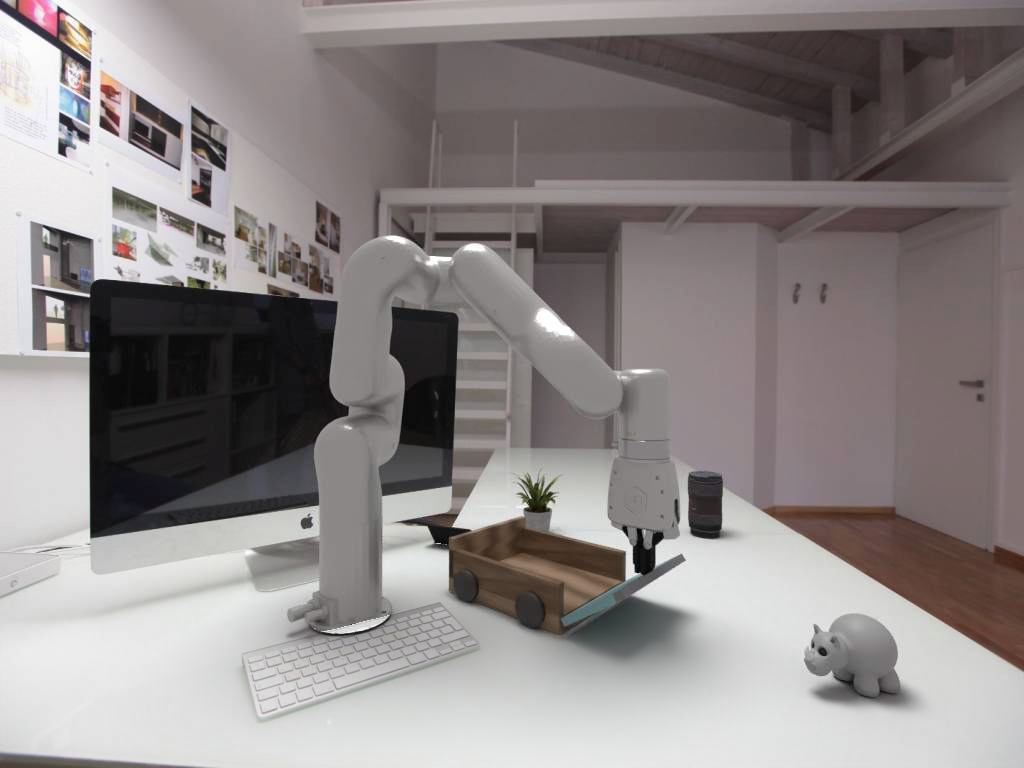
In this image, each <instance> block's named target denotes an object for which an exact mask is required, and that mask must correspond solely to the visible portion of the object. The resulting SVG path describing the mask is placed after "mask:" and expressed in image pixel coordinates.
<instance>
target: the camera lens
mask: <svg viewBox="0 0 1024 768" xmlns="http://www.w3.org/2000/svg"><path fill="white" fill-rule="evenodd" d="M723 493H724V479H723V476H722V474H721V473H719V472H715V471H707V470H695V471H690V472H688V476H687V494H688V504H687V505H688V509H687V519H688V527H689V529H690V531H689V532H690V534H691V535H693V536H696V537H698V538H704V539H716V538H719V537H720V535H721V530H722V527H723V496H724V494H723Z"/></svg>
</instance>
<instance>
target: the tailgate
mask: <svg viewBox="0 0 1024 768" xmlns="http://www.w3.org/2000/svg"><path fill="white" fill-rule="evenodd" d="M685 562H686V558H685V556H684V554H683V553H680V554H678V555H676V556H674V557H672V558H669V559H667V560H665V561H664V562H662V563H659V564H657V565H655V568H654V569H653V570H652V571H651V572H649V573H647V574H646V575H642V574H641V573H639V574H638V573H637V575H635V576H632V577H630V578H628V579H626V581H625V582H623V583H621V584H619V585H618V586H616V587H614V588H613V589H611V590H609V591H607V592H606V593H604V594H602V595H601V596H599V597H597V598H595V599H594V600H592V601H590V602H588V603H587V604H585V605H583V606H582V607H580V608H578V609H576V610H575V611H573V612H571V613H570V614H568V615H566V616H564V617H563V618H561V621H562V623H563V625H564V627H565V626H567V625H570V624H572V623H574V622H576V621H578V620H581V619H583V618H585V617H587V616H589V615H590V616H592V615H593V614H595V613H597V612H600V611H602V610H604V609H606V608H609V607H611V606H613V605H615V604H617V603H620V602H622V601H624V600H626V599H628V598H629V597H631V596H632V595H634V594H635V593H637V592H639V591H640V590H642V589H643V588H645V587H646V586H648V585H650V584H651V583H653V582H654V581H655V580H656V581H657V579H659V578H661V577H662V576H664V575H665V574H667V573H668V572H670V571H672V570H673V569H675V568H677V567H678V566H680V565H682V564H683V563H685ZM591 614H592V615H591ZM590 616H589V617H590ZM587 618H588V617H587Z"/></svg>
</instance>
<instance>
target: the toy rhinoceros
mask: <svg viewBox="0 0 1024 768" xmlns="http://www.w3.org/2000/svg"><path fill="white" fill-rule="evenodd" d="M812 625H813V630H814V631H813V632H814V633H813V637H812V638H811V641H810V647H809V645H806V647H805V649H804V658H803V661H804V664H805V667H806V669H807V670H808V672H809V673H810V674H813V675H815V676H817V677H825V676H828V675H829V674H830V673H831V672H832V675H833V676H834V677H835V678H836V679H838V680H842V681H845V682H853V687H854V689H855V691H856V692H857V693H858V694H859V695H862V696H863V697H868V698H869V697H870V698H876V697H878V696H879V695H880V691H882V692H885V693H889V694H897V693H899V691H900V690H901V682H900V681H901V680H900V677H899V675H898V673H897V671H896V669H895V667H896V664H897V662H898V658H899V650H898V645H897V643H896V640H895V638H894V636H893V634H892V633H891V632H890V630H889V629H888V628H887V627H886V626H885V625H884V624H883V623H881V622H880V621H879V620H878V619H876V618H873V617H872V616H869V615H866V614H863V613H857V612H856V613H855V612H853V613H845V614H843V615H840V616H839V617H837V618H836V619H835V620H834V621H833V622H832V623H831V624H830V627H829V628H828V631H823V630H822V629H821V628H820V626H819V625H818V624H816V623H813V624H812Z"/></svg>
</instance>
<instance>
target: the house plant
mask: <svg viewBox="0 0 1024 768" xmlns="http://www.w3.org/2000/svg"><path fill="white" fill-rule="evenodd" d="M542 469H543V467H541V468H540V470H539V472H538V475H537V481H536V482H534V485H533V483H532V477H531V476H530V474H529V473H528V472H527V471H525V473H526V474H525V473H524V472H522V475H523V477H524V478H525V479H522V478H521V477H520V476H519V475H517V474H515V473H513V472H510V474H512V475H514V476H517V478H516V477H515V479H518V480H520V481H521V482H522V484H523V485H522V484H521V483H520V482H517V481H516V482H513V481H512V483H516V484H518V485H519V486H520V487H521V488H522V490H523V491H524V493H523V492H521V491H520V492H517V493H516V494H515V496H517V498H521V499H522V500H521V501H522V502H521V505H523V504H524V503H526V504H527V505H528V506H527V507H524V508H523V510H522V511H523V516H524V517H526V527H529V528H533V529H537V530H541V531H545V532H549V533H550V525H551V520H552V516H553V515H552V513H553V509H552V508H551V507H548V504H549V503H550V502H552V503H553V504H554V506H555V504H556V499H555V498H556V497H558V495H555V494H559V492H557V491H556V492H554V491H552V490H551V491H549V490H550V489H551V488H552V486H553V485H554V484H555V483H556V481H558V478H560V477H562V476H563V474H560V475H557V476H556V477H555V478H553V479H552V480H551V482H549V484H548V485H547V486H546V487H545V482H546V478H545V477H546V476H545V475H547V473H544V474H543V475H542V477H541V478H540V473H541V471H542ZM507 473H508V474H509V472H507ZM525 480H526V481H525ZM544 487H545V489H544ZM528 493H529V494H528ZM530 497H531V498H530Z"/></svg>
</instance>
